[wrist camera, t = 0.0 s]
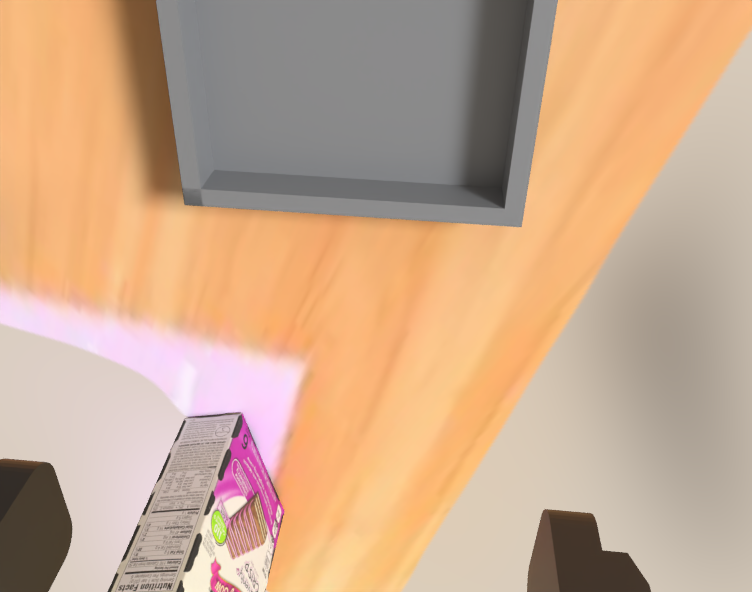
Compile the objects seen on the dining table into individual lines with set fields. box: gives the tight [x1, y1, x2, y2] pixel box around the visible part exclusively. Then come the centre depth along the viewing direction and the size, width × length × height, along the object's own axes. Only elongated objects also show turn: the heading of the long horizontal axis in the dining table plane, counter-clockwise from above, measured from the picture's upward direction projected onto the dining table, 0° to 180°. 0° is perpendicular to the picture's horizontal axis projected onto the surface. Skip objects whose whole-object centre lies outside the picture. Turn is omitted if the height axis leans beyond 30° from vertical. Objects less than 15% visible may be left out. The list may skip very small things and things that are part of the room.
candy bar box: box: [108, 413, 284, 592], centre depth 48 cm, size 11×5×16 cm, turn 12°
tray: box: [156, 0, 558, 227], centre depth 34 cm, size 16×18×4 cm
